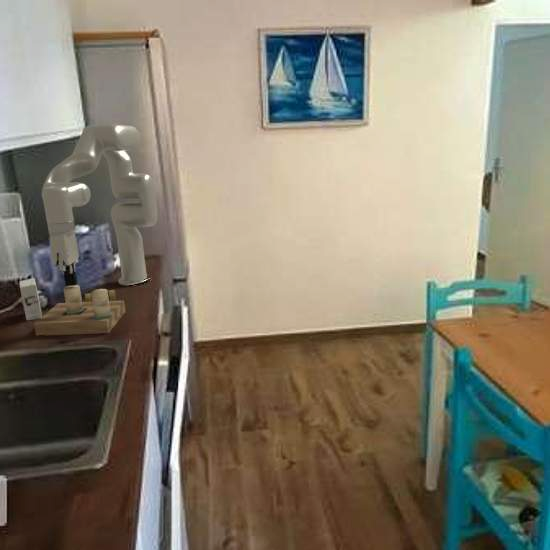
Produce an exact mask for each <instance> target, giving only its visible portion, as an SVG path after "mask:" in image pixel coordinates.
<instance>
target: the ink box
mask: <svg viewBox="0 0 550 550" xmlns="http://www.w3.org/2000/svg"><path fill="white" fill-rule="evenodd" d="M19 289H20V290H19V291H20V294H21V300H22V301H21V302H22V305H23V310H24V314H25V319H26V321H31V320H39V319H40V318H41V317H43V313H42V308H41V304H40V303H41V302H40V298H39V292H38V287H37V284H36V279H35V278H28V279H24V280H19Z"/></svg>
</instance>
